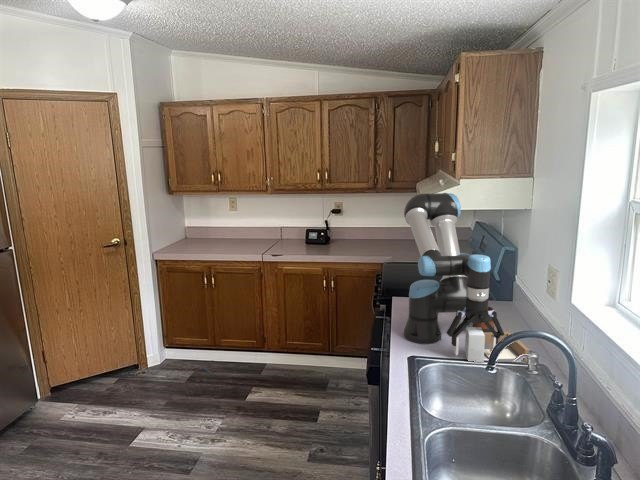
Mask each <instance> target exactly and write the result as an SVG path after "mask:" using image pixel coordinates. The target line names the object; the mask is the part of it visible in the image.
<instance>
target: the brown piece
mask: <svg viewBox="0 0 640 480" xmlns="http://www.w3.org/2000/svg"><path fill="white" fill-rule="evenodd" d="M503 332H504V335H503V336H502V335H501V336H500V338H498V342H499V341H500V340H501V339H503V338H504V337H506V336H508V335H510V334H512V333H511V332H510V331H503ZM483 333H484V335H485V345H484V356H485V357H486V358H487V359H488V358H489V355H490V353H491V352H490V342H491V335H494V334H493V333H492V332H483ZM527 353H529V354H530V348H528V347H527V346H526V345H525V344H524V343H522V342H521V341H520V340H519V341H516V342H514V343H512V344H510V345H509V346H507V347H506V348H505V349H504V350H503V351H502V353H501V354H500V355H499V357H498V360H497V363H496V364H499V363H498V362H512V361H513V360H514V359H515V358H516V357H517V356H519V355H522V354H527ZM526 361H527V359H526V358H523V360H521V362H526Z"/></svg>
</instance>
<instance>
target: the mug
mask: <svg viewBox="0 0 640 480" xmlns="http://www.w3.org/2000/svg"><path fill="white" fill-rule="evenodd" d="M492 309H493V310H494V311H495V309H494V308H493V307H491V306H489V305H488V311H491V310H492ZM486 320H487V321H488V322H489V324H490V325H491V326H492V327H493V329H494V330H495V324H494V322H493V320H492V318H491V316H490V315H488V316H487V318H486ZM471 327H477V328H482V331H483V332H491V331H490V330H489V328H488V327H487V326H486V325H485V324H484V322H482V323H481V324H479V323H475V324H472V326H471Z"/></svg>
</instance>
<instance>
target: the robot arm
mask: <svg viewBox="0 0 640 480" xmlns="http://www.w3.org/2000/svg"><path fill="white" fill-rule="evenodd" d="M461 209H462V206H461V202H460V200H459V198H458V196H457V195H456V194H454V193H447V192H443V193H441V192H440V193H418V194H416V195H413V196H412V197H411V198H410V199H408V201H407V202H406V204H405V207H404V209H403V210H404V211H403V215H404V218H405V223H407V224H408V225H409V226H410V227H409V228H410V229H411V233H412V235H413V238H414V240H415V245H416V246H417V249H418V253H419V256H420V257H418V260H417V268H418V269H417V270H418V273H419V275H420V276H423V277H441V279H440V280H438V281H437V280H435V279H420V280H416V281H414V282H413V283H411V285H410V286H409V291H408V292H409V293H408V298H409V299H408V319H407V321H406V324H405V327H404V329H403V337H404V338H405V339H406V340H407V341H410V342H412V343H417V344H424V345H430V344H437V343H439V342H440V341H441V340H442V337H443V336H442V333H443V332H442V331H441V330H442V329H441V327H440V323H439V317H438V315H439V314H441V313H447V314H448V313H455V316H454V318H453V320H452V322H451V323H450V325H449V327H448V329H447V331H446V334H447V335H448V337H451V346H452V347H453V353H454V355H455V356H459V343H460V338H459V337H458V336H460V335H461V334H462V332H463V331H464V330H466V327H469V325H471V324H472V325H473V324H475V323H479V324H481V323H482V322H484V324H485V325H486V326H487V327H488V328H489V330H490V331H491V332H492V333H493V334H494V335H491V342H490V352H491V351H492V349H493V348H494V346H495V345H496V344H497V343H498V338H500V336H501V335H502V336H503V335H504V332H505V331H503V328H502V326H501V323H500V322H499V319H498V316H497V315H498V314H497V312H496V311H495V309H494V308H493V309H494V310H493V309H492V310H491V311H488V306H489V296H490V295H489V294H490V279H491V277H490V276H491V267H492V265H491V258H490V256H488V255H484V254H469V253H465V252H464V253H463V252H461V250H460V245H459V239H458V235H457V230H456V223H457V222H458V219H459V217H461V213H462V212H461ZM429 222H430V223H429ZM430 225H431V226H432V227H433V228H434V229H435V230H434V231H435V236H434V234H433V231H432V229H431V226H430ZM435 238H436V239H435ZM488 315H490V316H491V318H492V320H493V322H494V327H495V328H496V330H495V328H494V329H493V327H492V326H491V325H490V324H489V322H488V321H487V320H486V318H487V316H488ZM464 316H465V317H464ZM463 317H464V318H463ZM462 318H463V319H462ZM461 320H462V322H461ZM460 322H461V323H460ZM459 323H460V324H459Z"/></svg>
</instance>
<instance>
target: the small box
mask: <svg viewBox="0 0 640 480" xmlns="http://www.w3.org/2000/svg"><path fill="white" fill-rule="evenodd" d="M464 338H465V341H464V342H465V343H464V353H465V357H466V361H467V360H468V361H474V362H473V363H478V362H482V363H481V364H483V363H484V362H485V361H484V360H485V354H484V345H485V335H484V333H483V331H482V328H477V327H472V326H467V327H466V328H465V337H464ZM468 361H467V362H468Z"/></svg>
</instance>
